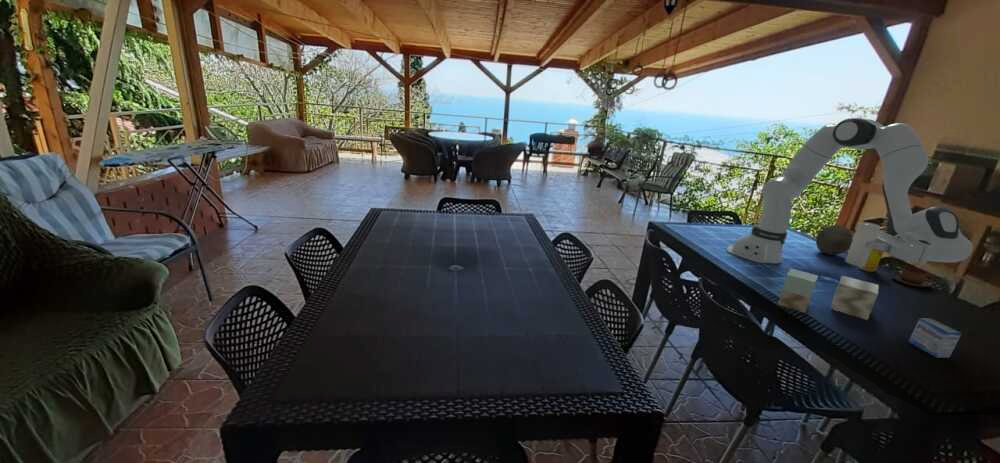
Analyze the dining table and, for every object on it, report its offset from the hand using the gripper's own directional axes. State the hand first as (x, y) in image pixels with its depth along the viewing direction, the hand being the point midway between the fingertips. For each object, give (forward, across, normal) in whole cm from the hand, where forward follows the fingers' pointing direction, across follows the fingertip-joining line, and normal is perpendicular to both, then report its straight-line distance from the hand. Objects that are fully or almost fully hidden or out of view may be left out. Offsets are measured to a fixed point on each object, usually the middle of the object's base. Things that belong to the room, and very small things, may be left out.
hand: (860, 241), depth 131 cm
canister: (-1, 0, +8) cm, 8 cm away
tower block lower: (+15, +2, +26) cm, 30 cm away
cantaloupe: (-32, -61, +26) cm, 74 cm away
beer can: (-38, -45, +26) cm, 65 cm away
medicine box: (-13, +22, +26) cm, 36 cm away
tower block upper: (+15, +2, +20) cm, 25 cm away
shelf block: (-5, 0, +26) cm, 26 cm away
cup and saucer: (-47, -34, +26) cm, 64 cm away
